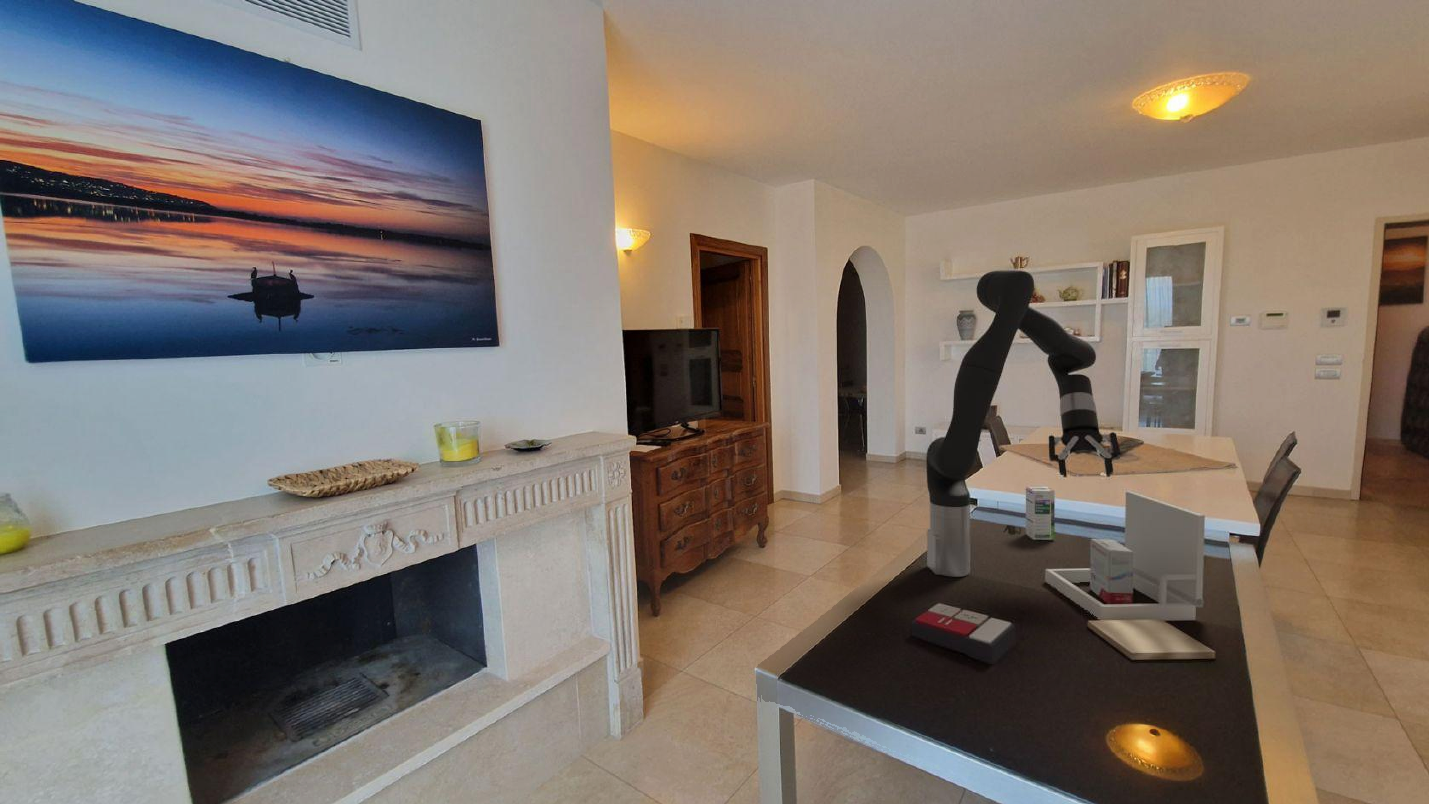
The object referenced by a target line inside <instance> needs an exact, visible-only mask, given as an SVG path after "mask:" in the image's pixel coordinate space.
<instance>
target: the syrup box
mask: <svg viewBox="0 0 1429 804" xmlns="http://www.w3.org/2000/svg"><path fill="white" fill-rule="evenodd" d="M1055 494H1056V493H1055V490H1054V489H1052V488H1050V487H1048V486H1026V487H1025V534H1026V535H1027V536H1028V537H1029V538H1031V540H1034V541H1037V540H1038V541H1039V540H1040V541H1041V540H1042V541H1055V536H1056V534H1055V533H1056V532H1055V530H1056V529H1055V520H1056V519H1055V515H1056V514H1055V511H1056V510H1055V503H1056V502H1055V501H1056V500H1055V498H1056V497H1055Z"/></svg>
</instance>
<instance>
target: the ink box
mask: <svg viewBox="0 0 1429 804" xmlns="http://www.w3.org/2000/svg"><path fill="white" fill-rule="evenodd" d="M1089 541H1090V544H1089V545H1090V550H1089V551H1090V554H1089V555H1090V557H1089V558H1090V560H1089V562H1090V567H1089V568H1090V583H1089V589H1090V590H1091V591H1092V592H1093V593H1095V595H1097V596H1098V597H1099V598H1101V600H1103V601H1104V602H1105V604H1134V588H1133V552H1132V551H1131V550H1129V549H1127V548H1126V547H1125V545H1123V544H1121V543H1120V542H1118V541H1116V540H1114V539H1104V538H1103V539H1102V538H1091V539H1090V540H1089Z"/></svg>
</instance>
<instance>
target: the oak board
mask: <svg viewBox="0 0 1429 804" xmlns="http://www.w3.org/2000/svg"><path fill="white" fill-rule="evenodd" d="M1087 627H1088V628H1089V629H1090V630H1092V631H1093V632H1094V633H1095V634H1097V636H1099V637H1101V638H1102V639H1104V640H1105V641H1106V642H1107V643H1109V644H1110V645H1111V646H1113V647H1114V648H1116V649H1117V650H1118V651H1119V652H1121V653H1123V654H1124V655H1125V656H1126V657H1128V658H1129V659H1131V661H1132V660H1133V661H1134V660H1137V661H1139V660H1192V659H1193V660H1195V659H1197V660H1199V659H1202V660H1203V659H1204V660H1205V659H1206V660H1207V659H1208V660H1209V659H1216V651H1215V650H1213V649H1211V648H1209V647H1208V646H1206V645H1204V644H1203V643H1201V642H1200V641H1198V640H1196V639H1194V638H1193V637H1191V636H1190V635H1188V634H1187V633H1185V632H1183V631H1182V630H1180V629H1178V628H1176V627H1175V626H1174V625H1172V624H1170V623H1168V622H1167V621H1163V620H1099V619H1097V620H1087Z"/></svg>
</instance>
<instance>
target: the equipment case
mask: <svg viewBox="0 0 1429 804" xmlns="http://www.w3.org/2000/svg"><path fill="white" fill-rule="evenodd" d="M1124 509H1125V513H1124V515H1125V516H1124V518H1125V519H1124V547H1126V548H1127V549H1129V550H1131V551H1132V552H1133V589H1134V588H1135V589H1134V590H1136V591H1138V592H1140V593H1141V594H1143V595H1145V596H1147V597H1148V598H1150V599H1152V600H1154V601H1155V602H1157V603H1133V604H1107V603H1105V604H1104V603H1103V602H1101V601H1099V600H1098V599H1096V598H1095V597H1093V596H1092V595H1090V594H1088V593H1087V592H1085V591H1084V590H1082V589H1081V588H1079V587H1078V586H1077V585H1075V584H1081V583H1080V582H1090V567H1088V568H1046V569H1045V570H1044V571H1045V572H1044V573H1045V574H1044V575H1045V576H1044V577H1045V578H1044V582H1045V581H1046V582H1045V583H1046V584H1048V585H1049V584H1050V587H1052V588H1054V587H1055V588H1056V589H1057V590H1056V589H1055V588H1054V589H1055V590H1056V591H1058V593H1061V594H1062V593H1063V594H1062V595H1064V596H1065V597H1066V598H1068V599H1069V598H1070V600H1071V601H1072V602H1073V601H1074V602H1073V603H1075V604H1077V605H1078V604H1079V605H1080V606H1079V605H1078V606H1079V607H1081V608H1082V609H1083V608H1084V609H1083V610H1085V611H1086V610H1088V611H1089V612H1090V613H1089V612H1088V611H1087V612H1088V613H1089V614H1091V615H1092V614H1093V615H1094V616H1093V615H1092V616H1093V617H1095V616H1096V617H1097V618H1096V617H1095V618H1096V619H1097V620H1163V621H1165V622H1167V621H1196V614H1197V613H1196V608H1204V599H1203V591H1204V589H1203V585H1204V559H1205V558H1204V557H1205V556H1204V554H1205V553H1204V551H1205V521H1206V518H1205V517H1206V516H1205V514H1202V513H1199V512H1195V511H1192V510H1190V509H1186V508H1184V507H1180V506H1178V505H1173V504H1171V503H1168V502H1165V501H1162V500H1160V499H1155V498H1153V497H1149V496H1147V495H1144V494H1140V493H1137V492H1134V491H1128V490H1127V491H1125V508H1124Z"/></svg>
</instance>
